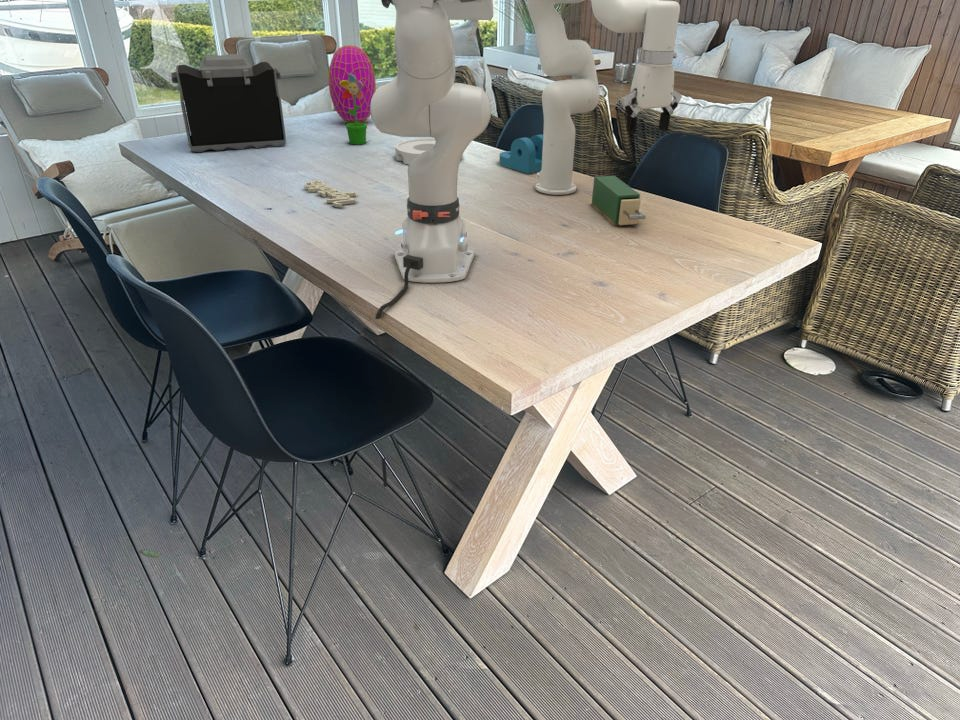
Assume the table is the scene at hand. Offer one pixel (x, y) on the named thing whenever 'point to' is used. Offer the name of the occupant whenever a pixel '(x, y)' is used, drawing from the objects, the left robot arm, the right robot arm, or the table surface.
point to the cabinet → (610, 196)
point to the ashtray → (412, 149)
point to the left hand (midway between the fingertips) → (451, 40)
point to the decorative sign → (330, 193)
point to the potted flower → (354, 129)
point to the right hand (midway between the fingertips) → (647, 131)
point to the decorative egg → (340, 66)
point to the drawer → (629, 211)
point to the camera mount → (524, 155)
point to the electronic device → (230, 103)
